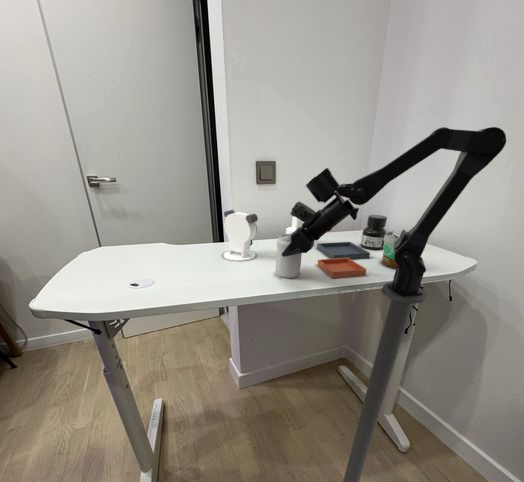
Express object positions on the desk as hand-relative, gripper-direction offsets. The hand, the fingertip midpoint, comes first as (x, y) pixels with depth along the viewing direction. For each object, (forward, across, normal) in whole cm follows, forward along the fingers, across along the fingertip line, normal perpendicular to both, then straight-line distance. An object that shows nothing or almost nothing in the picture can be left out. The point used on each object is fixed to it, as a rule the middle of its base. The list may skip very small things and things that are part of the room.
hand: (286, 250), depth 86 cm
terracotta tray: (-6, -10, +16) cm, 20 cm away
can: (+5, 0, +6) cm, 8 cm away
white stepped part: (+9, -33, +2) cm, 34 cm away
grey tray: (-4, -29, +15) cm, 33 cm away
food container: (-16, -22, +27) cm, 38 cm away
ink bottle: (-12, -42, +22) cm, 49 cm away
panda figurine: (+19, -10, -8) cm, 23 cm away
